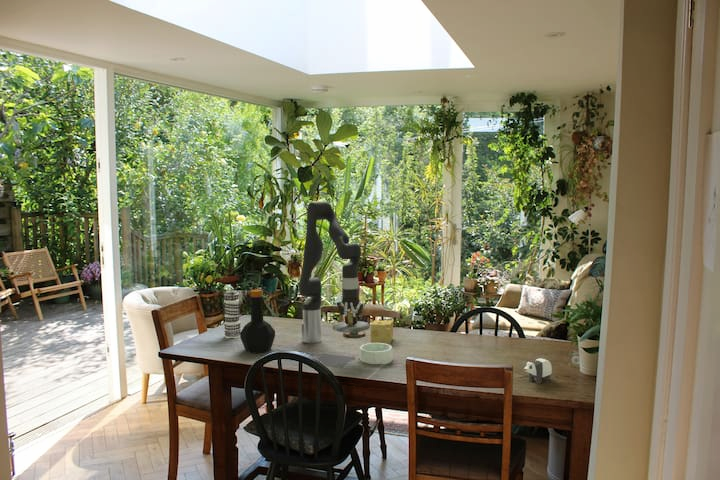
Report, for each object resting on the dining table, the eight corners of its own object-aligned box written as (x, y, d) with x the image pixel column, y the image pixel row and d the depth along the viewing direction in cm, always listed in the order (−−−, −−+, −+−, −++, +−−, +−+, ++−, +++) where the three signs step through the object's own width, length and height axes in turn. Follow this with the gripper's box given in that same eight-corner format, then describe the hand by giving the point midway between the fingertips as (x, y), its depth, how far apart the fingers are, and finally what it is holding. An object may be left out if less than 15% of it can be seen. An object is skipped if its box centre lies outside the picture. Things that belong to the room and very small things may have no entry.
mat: (309, 365, 258) (309, 363, 258) (324, 354, 273) (324, 353, 273) (341, 369, 252) (341, 367, 252) (355, 358, 267) (355, 357, 267)
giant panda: (541, 375, 240) (542, 353, 238) (553, 379, 235) (553, 357, 234) (519, 383, 231) (519, 360, 230) (530, 387, 227) (530, 364, 226)
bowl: (355, 363, 260) (355, 350, 259) (367, 353, 273) (366, 341, 273) (385, 366, 255) (385, 353, 254) (396, 356, 268) (395, 344, 267)
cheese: (390, 344, 289) (390, 325, 287) (369, 343, 291) (369, 324, 290) (393, 338, 299) (393, 320, 298) (373, 337, 301) (373, 319, 300)
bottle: (258, 343, 294) (256, 286, 291) (281, 348, 285) (279, 289, 282) (234, 351, 281) (232, 291, 278) (258, 356, 272) (256, 294, 269)
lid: (326, 330, 256) (325, 315, 256) (342, 321, 272) (342, 307, 271) (360, 333, 250) (360, 318, 249) (375, 324, 265) (375, 309, 264)
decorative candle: (222, 335, 310) (220, 290, 307) (239, 333, 314) (237, 288, 311) (226, 339, 302) (224, 293, 299) (243, 337, 305) (241, 291, 303)
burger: (367, 337, 303) (367, 323, 302) (346, 339, 300) (346, 325, 299) (361, 331, 314) (361, 318, 314) (340, 333, 311) (340, 320, 310)
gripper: (332, 287, 258) (333, 325, 260) (361, 289, 253) (362, 327, 254) (340, 284, 265) (340, 321, 267) (367, 286, 260) (368, 323, 261)
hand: (351, 324), depth 261 cm, fingers closed on lid, 3 cm apart
